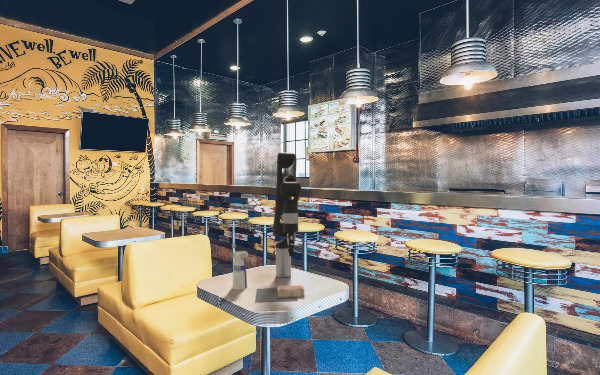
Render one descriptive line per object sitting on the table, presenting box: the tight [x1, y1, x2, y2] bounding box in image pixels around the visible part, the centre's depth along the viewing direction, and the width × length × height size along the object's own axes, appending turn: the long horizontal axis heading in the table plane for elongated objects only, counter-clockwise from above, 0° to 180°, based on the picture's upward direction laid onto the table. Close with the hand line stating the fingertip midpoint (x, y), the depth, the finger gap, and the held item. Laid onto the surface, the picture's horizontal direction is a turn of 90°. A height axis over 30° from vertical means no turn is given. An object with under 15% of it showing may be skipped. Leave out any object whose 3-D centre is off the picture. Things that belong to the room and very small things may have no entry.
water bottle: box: [231, 242, 249, 291], centre depth 177 cm, size 8×9×25 cm
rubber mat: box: [254, 287, 299, 304], centre depth 165 cm, size 21×20×1 cm
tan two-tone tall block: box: [277, 284, 305, 297], centre depth 164 cm, size 6×4×13 cm
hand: (290, 254), depth 165 cm, fingers open, 8 cm apart
